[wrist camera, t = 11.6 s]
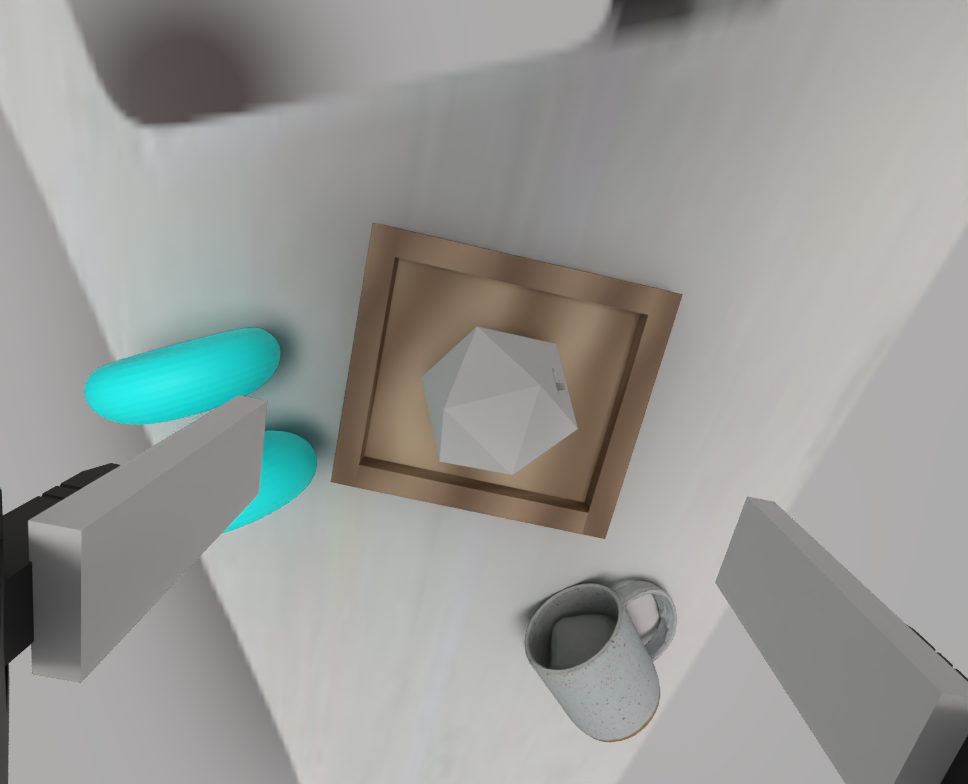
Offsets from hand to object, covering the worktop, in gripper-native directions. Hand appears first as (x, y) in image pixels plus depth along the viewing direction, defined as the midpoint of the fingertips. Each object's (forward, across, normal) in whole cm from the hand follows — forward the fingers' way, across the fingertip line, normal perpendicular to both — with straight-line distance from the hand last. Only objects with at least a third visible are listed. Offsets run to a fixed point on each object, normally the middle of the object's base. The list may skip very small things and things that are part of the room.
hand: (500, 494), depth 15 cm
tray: (+21, 0, -2) cm, 21 cm away
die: (+21, 0, -2) cm, 21 cm away
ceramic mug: (+22, +12, -18) cm, 31 cm away
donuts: (+21, -16, -7) cm, 27 cm away
